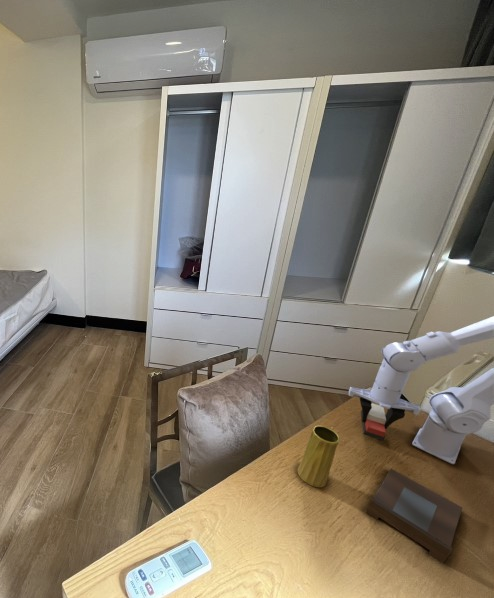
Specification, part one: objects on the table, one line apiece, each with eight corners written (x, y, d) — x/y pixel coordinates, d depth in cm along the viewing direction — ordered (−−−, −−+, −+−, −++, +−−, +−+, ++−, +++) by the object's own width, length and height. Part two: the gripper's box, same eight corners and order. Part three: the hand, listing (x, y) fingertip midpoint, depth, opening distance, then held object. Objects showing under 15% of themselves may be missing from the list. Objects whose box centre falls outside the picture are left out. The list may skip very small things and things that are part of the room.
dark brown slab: (388, 473, 77) (393, 462, 75) (458, 513, 68) (466, 501, 66) (365, 512, 69) (371, 500, 67) (442, 563, 59) (451, 551, 58)
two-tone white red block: (360, 412, 94) (364, 401, 92) (379, 418, 92) (384, 406, 90) (363, 434, 86) (368, 422, 85) (384, 440, 84) (389, 428, 82)
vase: (299, 482, 75) (313, 440, 70) (295, 462, 81) (308, 421, 75) (329, 491, 73) (346, 447, 68) (322, 469, 78) (338, 427, 73)
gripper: (355, 383, 84) (342, 421, 89) (430, 403, 76) (410, 443, 81) (354, 370, 89) (341, 407, 94) (423, 387, 81) (405, 426, 87)
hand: (373, 423), depth 88 cm, fingers closed on two-tone white red block, 4 cm apart
